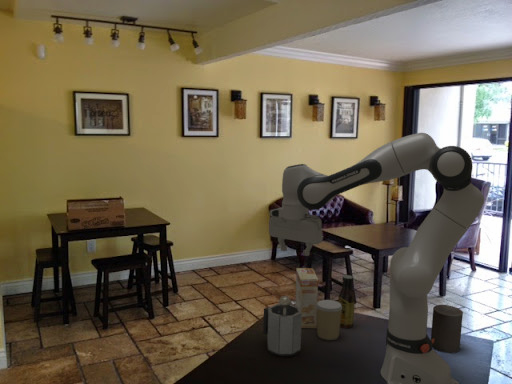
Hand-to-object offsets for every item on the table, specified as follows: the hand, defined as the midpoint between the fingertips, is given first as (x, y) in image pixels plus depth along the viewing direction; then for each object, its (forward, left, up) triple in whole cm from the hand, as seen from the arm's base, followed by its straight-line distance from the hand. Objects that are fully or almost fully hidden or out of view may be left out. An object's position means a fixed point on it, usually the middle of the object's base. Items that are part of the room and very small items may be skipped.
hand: (294, 253), depth 152 cm
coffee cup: (-4, -17, -34) cm, 38 cm away
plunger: (+1, +3, -29) cm, 29 cm away
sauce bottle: (-4, -29, -34) cm, 45 cm away
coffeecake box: (+10, -22, -34) cm, 42 cm away
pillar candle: (-39, -38, -34) cm, 64 cm away
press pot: (+3, +3, -34) cm, 34 cm away
